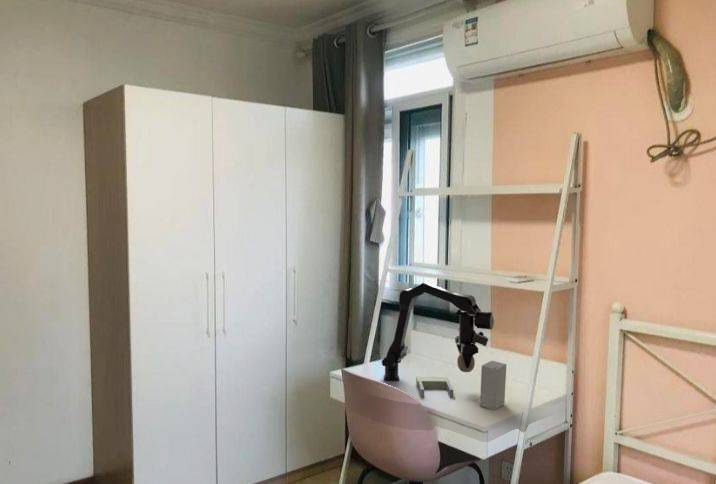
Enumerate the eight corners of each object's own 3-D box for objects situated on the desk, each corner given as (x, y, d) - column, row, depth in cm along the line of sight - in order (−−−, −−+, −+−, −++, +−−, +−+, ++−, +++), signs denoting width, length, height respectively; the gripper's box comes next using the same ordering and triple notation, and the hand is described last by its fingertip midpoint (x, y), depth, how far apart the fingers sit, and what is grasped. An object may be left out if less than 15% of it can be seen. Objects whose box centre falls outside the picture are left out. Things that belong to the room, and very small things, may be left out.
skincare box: (489, 400, 217) (490, 359, 216) (506, 405, 212) (507, 363, 211) (478, 406, 210) (479, 364, 209) (496, 411, 206) (497, 367, 205)
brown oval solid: (453, 369, 231) (454, 348, 230) (468, 367, 233) (469, 346, 233) (462, 374, 224) (463, 352, 224) (477, 372, 227) (478, 350, 226)
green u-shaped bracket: (416, 383, 237) (416, 376, 237) (447, 384, 237) (447, 377, 237) (420, 397, 220) (420, 389, 220) (453, 397, 220) (454, 389, 220)
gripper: (492, 332, 218) (491, 372, 219) (482, 322, 237) (481, 359, 238) (462, 331, 219) (462, 371, 219) (455, 322, 237) (454, 359, 238)
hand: (465, 365), depth 229 cm, fingers closed on brown oval solid, 7 cm apart
